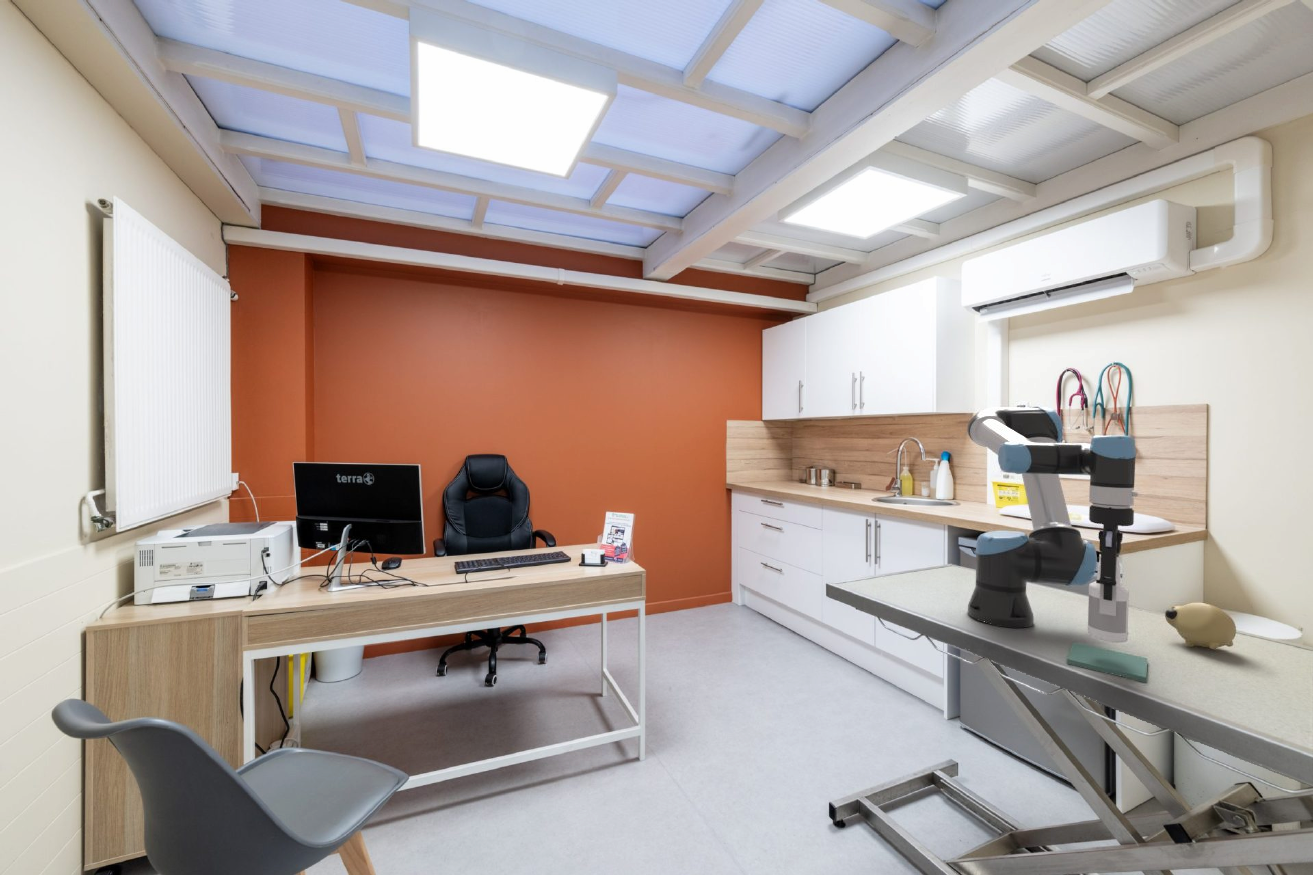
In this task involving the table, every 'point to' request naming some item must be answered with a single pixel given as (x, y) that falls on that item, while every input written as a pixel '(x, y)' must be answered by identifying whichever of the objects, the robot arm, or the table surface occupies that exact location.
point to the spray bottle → (1107, 624)
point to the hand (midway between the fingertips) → (1108, 609)
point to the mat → (1108, 661)
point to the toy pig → (1202, 625)
